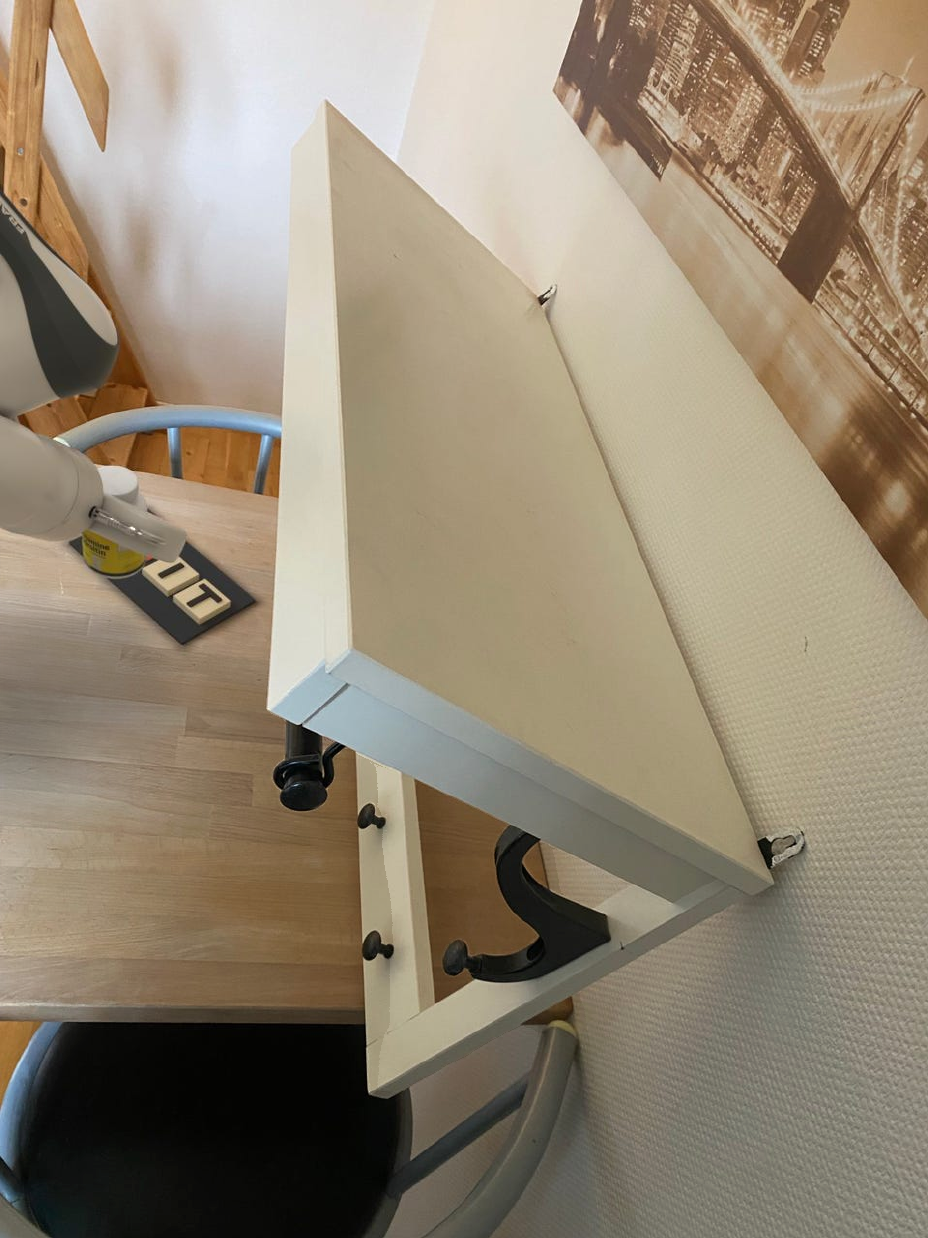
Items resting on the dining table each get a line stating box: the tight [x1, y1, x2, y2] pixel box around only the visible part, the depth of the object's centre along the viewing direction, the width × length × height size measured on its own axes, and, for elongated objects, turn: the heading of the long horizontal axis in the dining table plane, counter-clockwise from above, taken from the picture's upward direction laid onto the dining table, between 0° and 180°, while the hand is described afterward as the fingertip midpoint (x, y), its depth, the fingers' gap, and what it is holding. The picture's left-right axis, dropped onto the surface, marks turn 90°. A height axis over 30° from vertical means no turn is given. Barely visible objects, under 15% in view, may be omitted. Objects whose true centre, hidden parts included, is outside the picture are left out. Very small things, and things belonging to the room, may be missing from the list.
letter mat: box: [68, 507, 257, 646], centre depth 107 cm, size 22×12×2 cm, turn 52°
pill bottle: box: [81, 465, 148, 579], centre depth 87 cm, size 6×6×12 cm
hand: (117, 514), depth 87 cm, fingers closed on pill bottle, 6 cm apart
